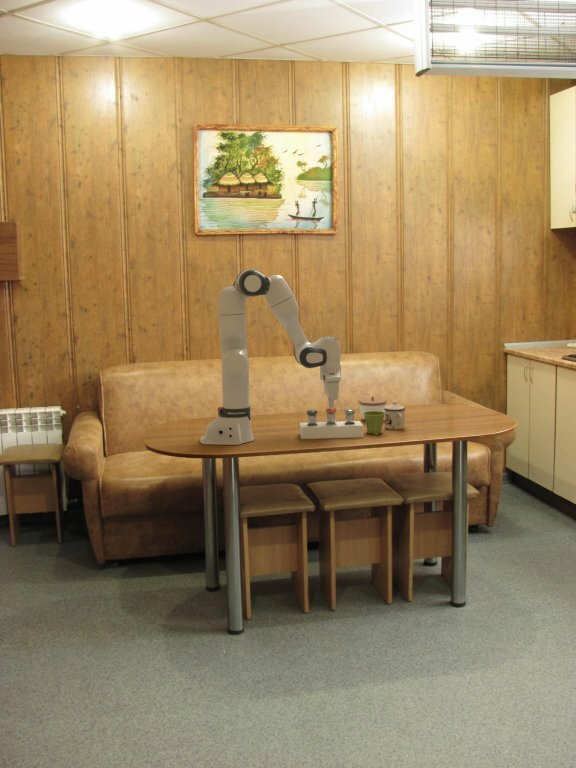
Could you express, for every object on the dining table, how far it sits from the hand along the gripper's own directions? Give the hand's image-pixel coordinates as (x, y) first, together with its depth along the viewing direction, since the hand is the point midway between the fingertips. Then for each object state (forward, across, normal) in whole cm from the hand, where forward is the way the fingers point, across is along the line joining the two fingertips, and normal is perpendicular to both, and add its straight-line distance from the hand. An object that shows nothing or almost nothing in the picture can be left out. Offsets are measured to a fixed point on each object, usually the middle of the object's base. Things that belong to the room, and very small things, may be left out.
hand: (331, 407), depth 341 cm
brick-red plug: (+7, 0, 0) cm, 7 cm away
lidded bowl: (+13, -31, +23) cm, 41 cm away
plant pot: (+13, -3, +19) cm, 23 cm away
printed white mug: (+13, -11, +30) cm, 34 cm away
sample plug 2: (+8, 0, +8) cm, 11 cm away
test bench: (+12, 0, 0) cm, 12 cm away
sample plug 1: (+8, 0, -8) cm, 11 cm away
